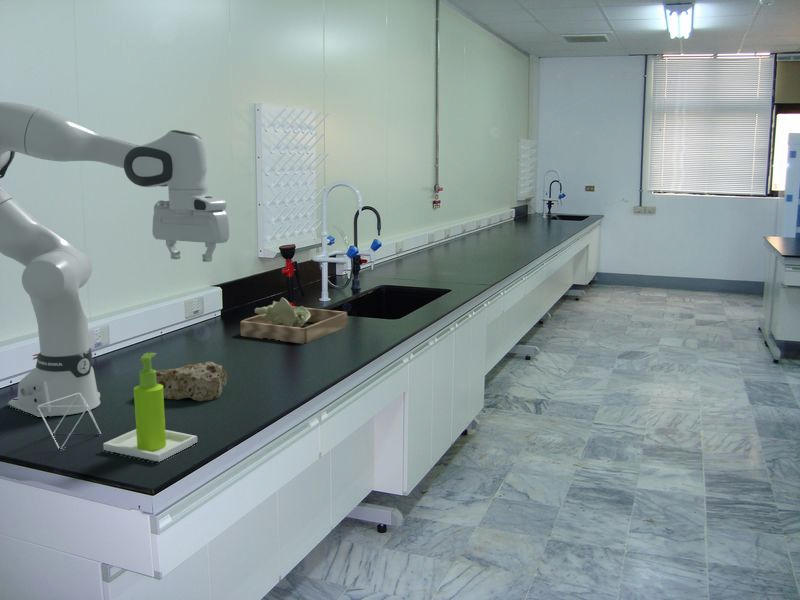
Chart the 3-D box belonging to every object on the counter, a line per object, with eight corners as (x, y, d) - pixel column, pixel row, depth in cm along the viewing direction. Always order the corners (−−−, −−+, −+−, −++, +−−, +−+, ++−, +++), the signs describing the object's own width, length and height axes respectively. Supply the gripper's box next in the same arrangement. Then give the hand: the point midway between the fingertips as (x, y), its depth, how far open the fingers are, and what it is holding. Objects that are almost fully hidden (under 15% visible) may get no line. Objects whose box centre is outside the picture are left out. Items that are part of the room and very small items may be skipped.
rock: (136, 403, 196) (135, 364, 196) (167, 399, 210) (166, 363, 210) (210, 401, 191) (208, 361, 192) (236, 397, 205) (234, 360, 206)
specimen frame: (239, 335, 264) (238, 321, 263) (287, 318, 291) (287, 305, 291) (305, 343, 254) (304, 329, 253) (348, 325, 281) (348, 312, 280)
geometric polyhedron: (96, 427, 176) (93, 389, 175) (106, 442, 167) (103, 402, 165) (37, 438, 170) (33, 398, 168) (43, 454, 161) (40, 412, 159)
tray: (103, 451, 162) (103, 443, 162) (144, 433, 173) (143, 425, 172) (159, 463, 156) (158, 455, 156) (197, 443, 167) (197, 436, 166)
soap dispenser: (170, 439, 167) (166, 350, 164) (161, 451, 161) (156, 359, 157) (143, 439, 167) (138, 350, 164) (133, 451, 161) (127, 359, 157)
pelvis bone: (274, 313, 286) (305, 292, 283) (290, 345, 282) (322, 324, 279) (247, 306, 268) (280, 283, 265) (264, 339, 264) (297, 317, 261)
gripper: (144, 200, 180) (147, 259, 183) (215, 203, 172) (217, 264, 175) (163, 199, 186) (166, 256, 189) (232, 202, 178) (234, 261, 180)
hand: (191, 260), depth 182 cm, fingers open, 8 cm apart
